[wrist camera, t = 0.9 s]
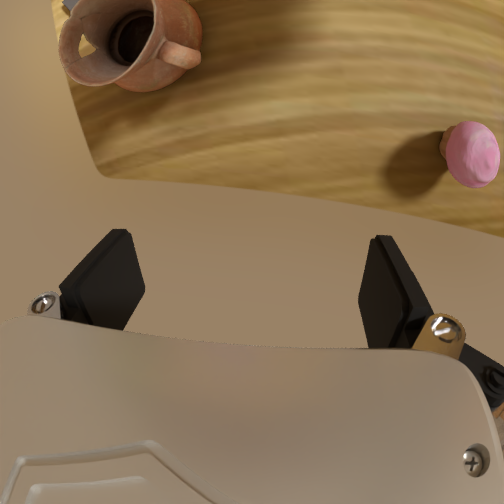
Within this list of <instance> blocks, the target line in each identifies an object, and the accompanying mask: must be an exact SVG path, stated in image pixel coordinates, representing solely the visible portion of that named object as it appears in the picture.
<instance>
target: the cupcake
mask: <svg viewBox="0 0 504 504" xmlns="http://www.w3.org/2000/svg"><path fill="white" fill-rule="evenodd" d="M439 150H440V152H441V154H442V156H443V157H444V158H445V159H446V161H447V165H448V169H449V171H450V173H451V174H452V176H453V177H454V178H455V179H456V180H457V181H458V182H460V183H461V184H463V185H465V186H467V187H471V188H480V187H484V186H485V185H487V184H488V183H489V182H490V181H492V180H493V179H494V178H495V176H496V174H497V172H498V168H499V163H500V152H499V148H498V144H497V141H496V138H495V136H494V135H493V133H492V132H491V131H490V130H489V129H488V128H487V127H486V126H484V125H482V124H480V123H477V122H473V121H465V122H461V123H459V124H458V125H457V126H451V127H449V128H448V129H447V131H445V132H444V133H443V137H442V140H441V142H440V145H439Z"/></svg>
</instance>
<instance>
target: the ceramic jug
mask: <svg viewBox="0 0 504 504" xmlns="http://www.w3.org/2000/svg"><path fill="white" fill-rule="evenodd" d="M70 14H71V16H70V18H69V19H67V20H66V21H65V22H64V25H63V27H62V30H61V34H60V39H59V56H60V60H61V63H62V66H63V67H64V70H65V72H66V73H67V74H68V75H69V77H70V78H72V79H73V80H74V81H76V82H77V83H79V84H82V85H86V86H92V87H93V86H104V85H108V84H111V83H115V84H116V85H118V86H120V87H121V88H123V89H126V90H129V91H134V92H150V91H154V90H158V89H161V88H164V87H166V86H168V85H170V84H172V83H173V82H175V81H176V80H178V79H179V78H180V77H181V76H182V75H183V74H184V73H185V72H186V71H187V70H188V69H192V68H193V67H195V66H197V65H198V64H200V63H201V53H200V48H201V44H202V34H203V33H202V25H201V21H200V18H199V16H198V14H197V13H196V11H195V10H194V8H193V7H192V6H191V5H190V4H188V3H187V2H186V1H184V0H79V1H78V2H77V3H76V5H75V6H74V7H73V9H72V10H71V12H70ZM82 34H84V36H85V38H86V40H87V41H88V42H89V43H90V44H92V46H93V47H95V48H96V51H95V52H93V53H92V54H90V55H88V56H85V57H83V58H81V57H80V55H79V52H78V49H79V48H78V47H79V43H80V40H81V36H82Z"/></svg>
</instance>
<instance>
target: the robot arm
mask: <svg viewBox="0 0 504 504" xmlns="http://www.w3.org/2000/svg"><path fill="white" fill-rule="evenodd" d="M59 288H60V290H61V293H62V294H61V296H60V297H59V295H58V294H57V293H56V292H53V291H50V292H45V293H42V294H40V295H38V296H37V297H36V298H34V300H32V302H31V303H30V305H29V307H28V315H27V316H21V317H16V318H12V319H10V320H7V321H5V322H4V323H2V324H1V325H0V504H504V367H503V366H502V365H500V364H499V363H497V362H495V361H494V360H492V359H491V358H489V357H487V356H486V355H484V354H482V353H481V352H479V351H477V350H476V349H474V348H472V347H471V346H469V345H467V344H466V343H464V342H465V339H466V332H465V329H464V327H463V325H462V324H461V323H460V322H459V321H458V320H457V319H455V318H454V317H452V316H450V315H447V314H442V313H439V314H434V313H433V310H432V308H431V306H430V304H429V302H428V300H427V298H426V296H425V294H424V292H423V290H422V288H421V286H420V284H419V282H418V281H417V279H416V277H415V275H414V273H413V272H412V271H411V269H410V267H409V265H408V264H407V262H406V260H405V258H404V256H403V255H402V253H401V251H400V249H399V248H398V246H397V244H396V243H395V241H394V239H393V238H392V236H387V235H386V236H385V235H376V237H375V239H371V241H370V245H369V250H368V255H367V260H366V265H365V270H364V274H363V279H362V283H361V288H360V292H359V296H358V297H359V298H358V304H359V308H360V312H361V317H362V321H363V325H364V329H365V334H366V338H367V342H368V347H369V348H291V347H270V346H251V345H238V344H225V343H214V342H204V341H194V340H186V339H177V338H169V337H162V336H154V335H147V334H141V333H134V332H128V331H123V329H124V328H125V326H126V324H127V322H128V320H129V318H130V317H131V315H132V314H133V312H134V310H135V308H136V307H137V305H138V303H139V301H140V300H141V298H142V296H143V295H144V292H145V284H144V281H143V277H142V274H141V270H140V266H139V263H138V259H137V255H136V251H135V247H134V243H133V240H132V236H131V234H130V233H129V232H128V231H127V230H126V229H112V230H111V231H110V232H109V233H108V234H107V235H106V236H105V237H104V238H103V239H102V240H101V241H100V242H99V243H98V244H97V245H96V246H95V247H94V248H93V249H92V250H91V251H90V252H89V253H88V255H87V256H86V257H85V258H84V259H83V260H82V261H81V262H80V263H79V264H78V265H77V266H76V267H75V268H74V270H73V271H72V272H71V273H70V274H69V275H68V276H67V278H65V280H64V281H63V282H62V283H61V284H60V285H59Z"/></svg>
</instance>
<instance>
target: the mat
mask: <svg viewBox="0 0 504 504" xmlns="http://www.w3.org/2000/svg"><path fill="white" fill-rule="evenodd" d="M78 1H79V0H64V1H63V2H62V3H63V4H64V5H65V6H66V7H67V8H68V9H69V10H70V11H71V10H72V9H73V7H74V6H75V5H76V3H77V2H78Z"/></svg>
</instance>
